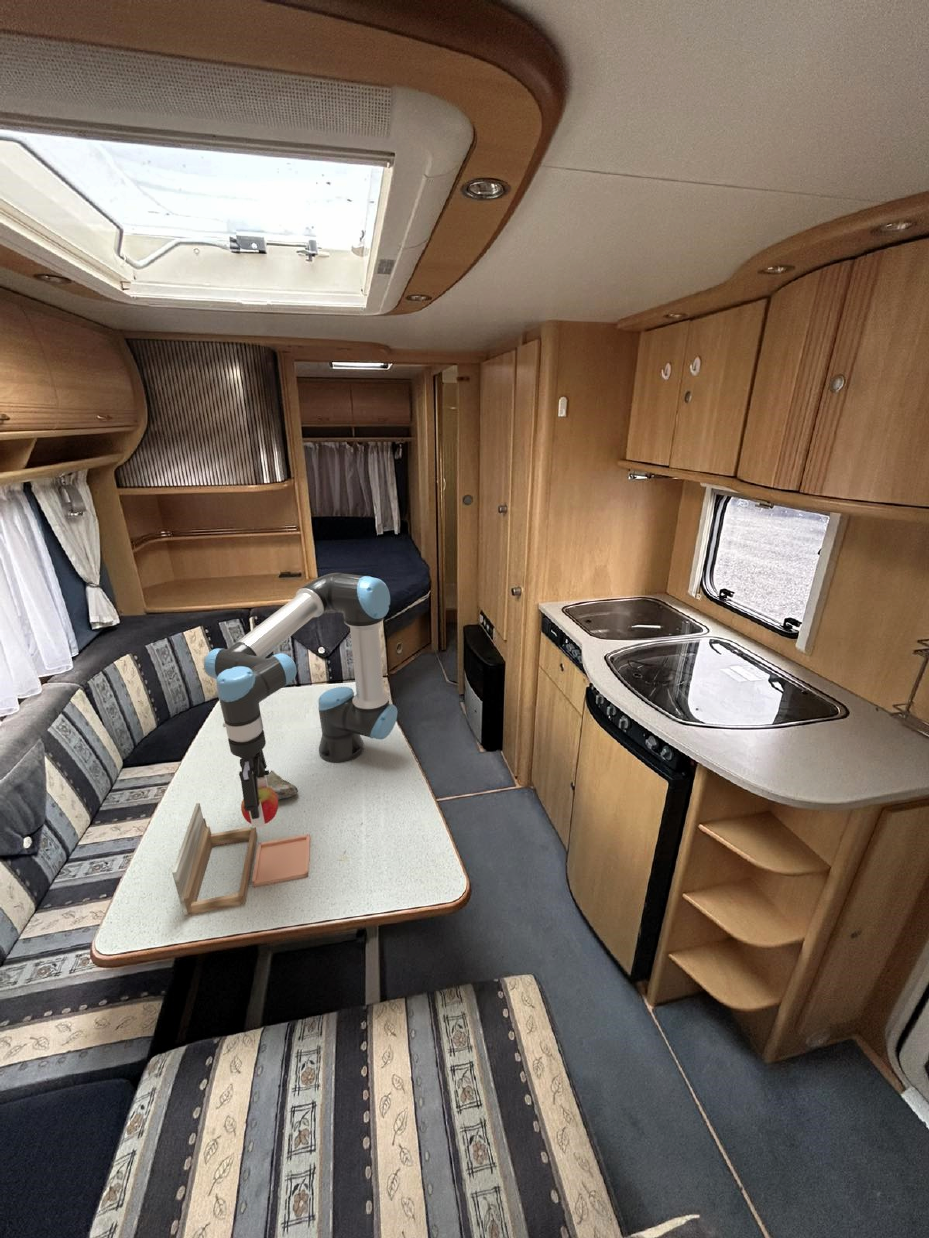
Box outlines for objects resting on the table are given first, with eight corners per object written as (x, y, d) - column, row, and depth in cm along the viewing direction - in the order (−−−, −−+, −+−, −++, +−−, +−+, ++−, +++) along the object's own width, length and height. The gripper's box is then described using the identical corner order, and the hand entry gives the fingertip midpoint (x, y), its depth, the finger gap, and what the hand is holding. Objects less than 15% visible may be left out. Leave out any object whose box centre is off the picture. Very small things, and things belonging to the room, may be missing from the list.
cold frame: (258, 833, 138) (250, 791, 133) (245, 906, 117) (235, 861, 112) (207, 841, 136) (196, 800, 130) (184, 918, 115) (171, 872, 109)
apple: (244, 837, 118) (237, 803, 115) (244, 812, 126) (237, 780, 122) (281, 826, 121) (275, 793, 117) (279, 803, 129) (273, 771, 125)
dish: (310, 839, 136) (309, 833, 136) (308, 878, 125) (307, 872, 124) (259, 848, 134) (258, 843, 133) (252, 889, 122) (251, 883, 121)
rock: (254, 791, 144) (263, 769, 153) (254, 808, 146) (262, 785, 155) (295, 794, 146) (302, 771, 155) (294, 810, 148) (300, 787, 157)
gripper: (237, 710, 123) (252, 785, 131) (217, 765, 104) (236, 848, 112) (269, 706, 124) (282, 781, 133) (256, 759, 105) (272, 842, 114)
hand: (261, 811), depth 123 cm, fingers closed on apple, 8 cm apart
